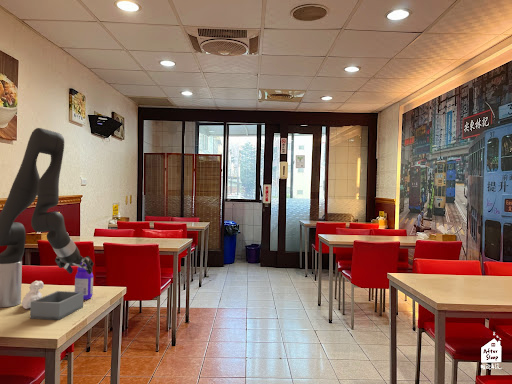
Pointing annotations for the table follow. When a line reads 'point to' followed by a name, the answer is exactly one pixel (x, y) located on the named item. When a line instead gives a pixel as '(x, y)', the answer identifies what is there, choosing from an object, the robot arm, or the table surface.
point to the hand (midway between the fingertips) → (80, 272)
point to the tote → (56, 305)
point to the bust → (32, 294)
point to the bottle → (84, 282)
